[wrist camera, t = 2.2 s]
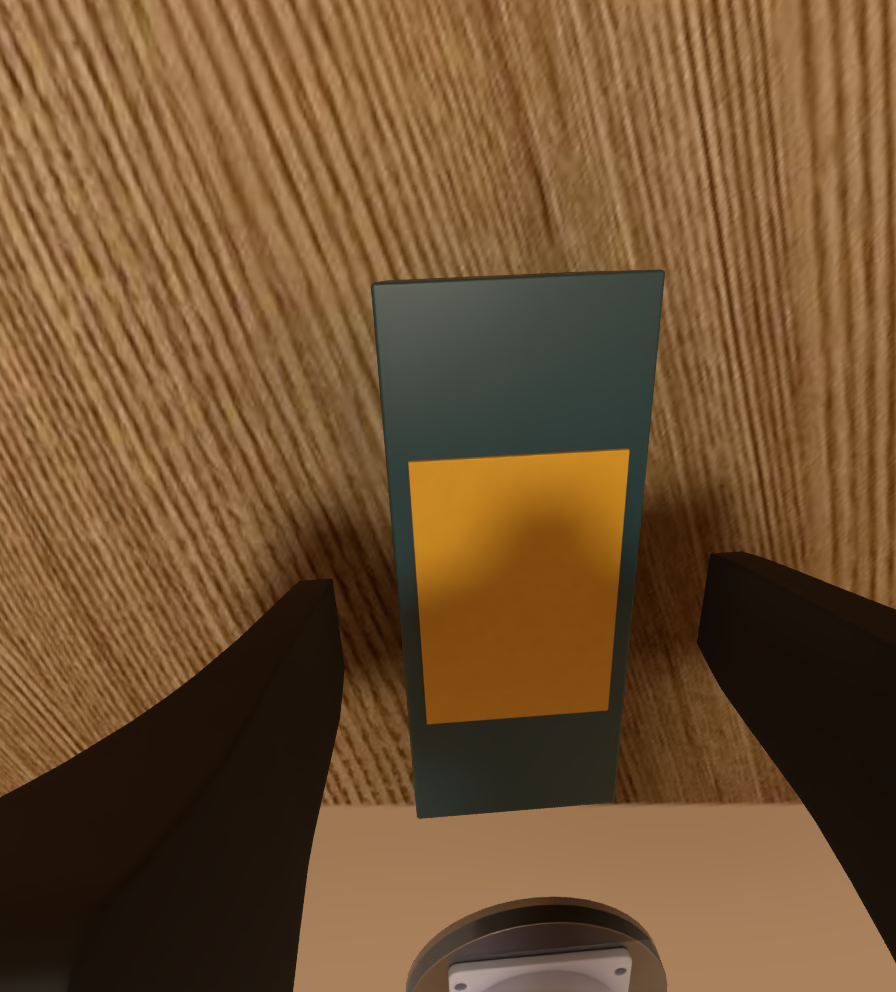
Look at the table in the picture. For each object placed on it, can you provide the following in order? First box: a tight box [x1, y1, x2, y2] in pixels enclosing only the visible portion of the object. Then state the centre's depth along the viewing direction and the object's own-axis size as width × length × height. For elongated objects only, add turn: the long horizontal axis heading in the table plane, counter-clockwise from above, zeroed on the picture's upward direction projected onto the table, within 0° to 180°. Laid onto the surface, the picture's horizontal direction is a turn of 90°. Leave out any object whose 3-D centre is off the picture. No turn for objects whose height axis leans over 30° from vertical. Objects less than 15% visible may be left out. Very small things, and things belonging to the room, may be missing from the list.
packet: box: [371, 270, 665, 819], centre depth 13 cm, size 12×5×4 cm, turn 2°
